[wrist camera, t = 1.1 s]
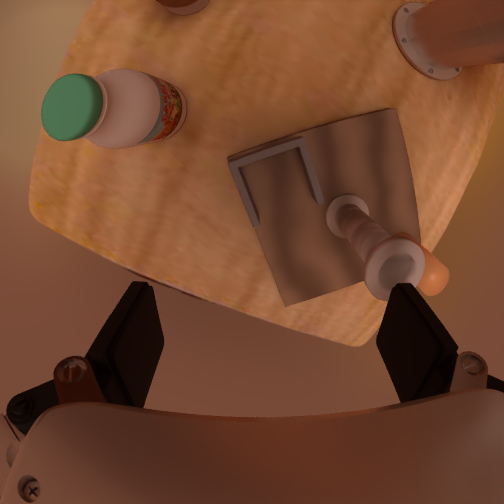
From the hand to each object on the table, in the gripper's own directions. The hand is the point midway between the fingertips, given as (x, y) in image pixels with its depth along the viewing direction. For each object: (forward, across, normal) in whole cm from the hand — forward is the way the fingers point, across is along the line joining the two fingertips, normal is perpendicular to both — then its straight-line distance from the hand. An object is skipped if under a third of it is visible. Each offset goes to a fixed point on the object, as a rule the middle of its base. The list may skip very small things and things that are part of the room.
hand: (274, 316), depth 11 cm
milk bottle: (+27, +13, -9) cm, 31 cm away
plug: (+25, -20, +8) cm, 33 cm away
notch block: (+25, -2, 0) cm, 25 cm away
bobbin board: (+27, -10, +4) cm, 29 cm away
